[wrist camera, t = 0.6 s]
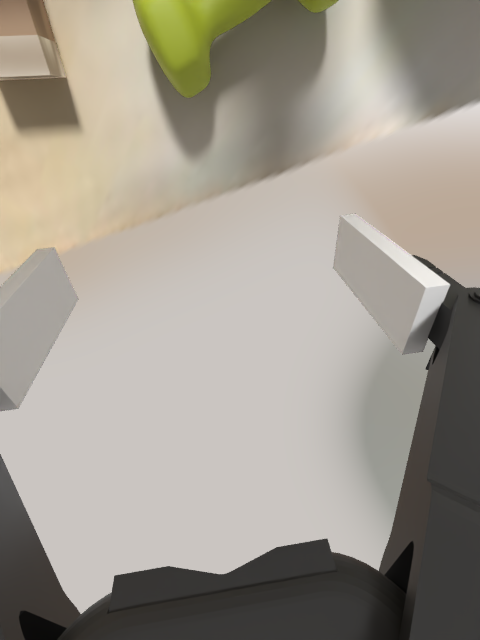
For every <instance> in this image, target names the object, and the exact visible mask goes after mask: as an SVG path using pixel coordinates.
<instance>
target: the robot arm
mask: <svg viewBox="0 0 480 640" xmlns="http://www.w3.org/2000/svg"><path fill="white" fill-rule="evenodd" d="M333 268H334V269H335V271H336V272H337V273H338V275H339V276H340V277H341V278H342V280H343V281H344V282H345V283H346V284H347V285H348V287H349V288H350V289H351V291H352V292H353V293H354V295H355V296H356V297H357V298H358V300H359V301H360V302H361V303H362V305H363V306H364V307H365V308H366V310H367V311H368V312H369V313H370V315H371V316H372V317H373V319H374V320H375V321H376V322H377V323H378V325H379V326H380V327H381V328H382V330H383V331H384V332H385V334H386V335H387V336H388V337H389V339H390V340H391V341H392V342H393V344H394V345H395V346H396V347H397V349H398V350H399V351H400V353H401V354H402V355H403V354H409V353H416V352H423V350H424V348H425V345H426V343H427V340H428V338H429V339H430V340H431V341H432V342H433V343H434V344H435V345H436V346H435V349H434V351H433V353H432V355H431V358H430V360H429V362H428V364H427V367H426V369H427V370H428V375H427V378H426V383H425V387H424V392H423V396H422V400H421V405H420V409H419V414H418V418H417V423H416V427H415V431H414V436H413V440H412V444H411V448H410V453H409V457H408V462H407V466H406V470H405V475H404V479H403V483H402V488H401V492H400V497H399V501H398V506H397V510H396V514H395V518H394V523H393V527H392V532H391V535H390V538H389V541H388V544H387V546H386V549H385V552H384V555H383V558H382V561H381V565H380V568H379V571H377V570H376V569H374V568H372V567H371V566H369V565H367V564H366V563H364V562H361V561H359V560H357V559H355V558H352V557H349V556H346V555H343V554H340V553H334V552H331V549H330V546H329V543H328V540H327V539H322V540H316V541H310V542H305V543H299V544H294V545H287V546H282V547H276V548H275V549H273V550H271V551H269V552H267V553H265V554H263V555H262V556H260V557H258V558H256V559H254V560H252V561H250V562H248V563H246V564H245V565H243V566H241V567H239V568H237V569H235V570H233V571H231V572H229V573H227V574H213V573H207V572H200V571H195V570H188V569H182V568H176V567H170V566H167V567H161V568H156V569H150V570H144V571H139V572H133V573H127V574H121V575H116V576H114V582H113V588H112V593H110V594H108V595H107V596H105V597H104V598H102V599H101V600H99V601H98V602H96V603H95V604H93V605H92V606H91V607H89V608H88V609H87V610H86V611H85V612H84V613H82V614H80V613H79V611H78V610H77V608H76V607H75V606H74V604H73V603H72V602H71V601H70V600H69V598H68V597H67V596H66V594H65V593H64V591H63V590H62V587H61V585H60V583H59V581H58V579H57V577H56V574H55V572H54V570H53V568H52V566H51V564H50V561H49V559H48V557H47V555H46V553H45V551H44V548H43V546H42V544H41V542H40V540H39V537H38V535H37V533H36V531H35V529H34V526H33V524H32V523H31V520H30V518H29V516H28V514H27V511H26V509H25V507H24V505H23V503H22V500H21V498H20V496H19V494H18V492H17V490H16V487H15V485H14V483H13V481H12V479H11V476H10V474H9V472H8V470H7V468H6V465H5V463H4V461H3V459H2V457H1V455H0V640H480V288H465V287H463V286H462V285H461V284H459V283H458V282H456V281H455V280H454V279H452V278H451V277H450V276H448V275H447V274H445V273H443V272H442V271H441V270H440V269H438V268H436V267H435V266H434V265H433V264H431V263H430V262H429V261H427V260H425V259H423V258H420V257H418V256H415V255H410V254H409V253H408V252H406V251H405V250H403V249H402V248H401V247H400V246H398V245H397V244H396V243H394V242H393V241H392V240H390V239H389V238H388V237H386V236H385V235H384V234H382V233H381V232H379V231H378V230H377V229H376V228H374V227H373V226H372V225H370V224H369V223H368V222H366V221H365V220H364V219H362V218H361V217H360V216H358V215H357V214H348V215H340V220H339V228H338V235H337V243H336V250H335V259H334V266H333ZM77 301H78V297H77V294H76V293H75V290H74V288H73V286H72V284H71V282H70V280H69V277H68V275H67V273H66V271H65V269H64V267H63V265H62V262H61V260H60V258H59V256H58V254H57V252H56V250H55V248H54V247H53V248H44V249H37V250H36V251H35V252H34V253H33V254H32V255H31V256H30V257H29V258H28V259H27V260H26V261H25V262H24V263H23V264H22V265H21V266H20V267H19V268H18V269H17V270H16V271H15V272H14V273H13V274H12V275H11V276H10V277H9V278H8V279H7V280H6V281H5V282H4V283H3V285H1V286H0V411H5V410H12V409H18V408H19V407H20V405H21V403H22V401H23V399H24V397H25V396H26V394H27V392H28V390H29V388H30V387H31V385H32V383H33V381H34V379H35V377H36V376H37V374H38V372H39V370H40V368H41V366H42V365H43V363H44V361H45V359H46V357H47V356H48V354H49V352H50V350H51V348H52V346H53V344H54V343H55V341H56V339H57V337H58V335H59V333H60V332H61V330H62V328H63V326H64V325H65V323H66V321H67V319H68V317H69V315H70V314H71V312H72V310H73V308H74V306H75V304H76V302H77Z"/></svg>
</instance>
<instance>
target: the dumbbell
mask: <svg viewBox="0 0 480 640" xmlns="http://www.w3.org/2000/svg"><path fill="white" fill-rule="evenodd" d="M270 1H272V0H133V3H134V8H135V11H136V15H137V18H138V21H139V24H140V26H141V29H142V32H143V34H144V36H145V38H146V40H147V42H148V44H149V46H150V48H151V50H152V52H153V54H154V56H155V58H156V60H157V61H158V63H159V65H160V67H161V69H162V70H163V72H164V74H165V75H166V77H167V78H168V79H169V81H170V82H171V84H172V85H173V87H174V88H175V89H176V90H177V91H178V92H179V93H180V94H181V95H182V96H184V97H186V98H191V97H193V96H195V95H196V94H198V93H199V92H201V91H202V90H204V89H205V88H206V87H207V85H208V84H209V81H210V78H211V69H210V47H211V44H212V42H213V41H214V39H215V38H216V37H217V36H219V35H221V34H223V33H224V32H226V31H228V30H230V29H232V28H233V27H235V26H237V25H238V24H240V23H242V22H243V21H245V20H246V19H248V18H249V17H251V16H252V15H254V14H255V13H256V12H258V11H259V10H260V9H262V8H263V7H264V6H265V5H267V4H268V3H269V2H270ZM298 1H299V2H300V3H301V4H302V5H303V6H304V7H305V8H306V9H308V10H309V11H310V12H313V13H317V12H321V11H324V10H326V9H327V8H329V7H330V6H332V5H333V4H335V3H336V2H337V1H339V0H298Z"/></svg>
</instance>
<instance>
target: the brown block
mask: <svg viewBox="0 0 480 640" xmlns="http://www.w3.org/2000/svg"><path fill="white" fill-rule="evenodd" d="M45 78H67V77H66V74H65V70H64V67H63V64H62V60H61V57H60V54H59V50H58V47H57V44H56V42H55V39H54V36H53V32H52V29H51V26H50V22H49V19H48V15H47V12H46V9H45V5H44V2H43V0H0V81H1V80H23V79H45Z"/></svg>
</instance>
